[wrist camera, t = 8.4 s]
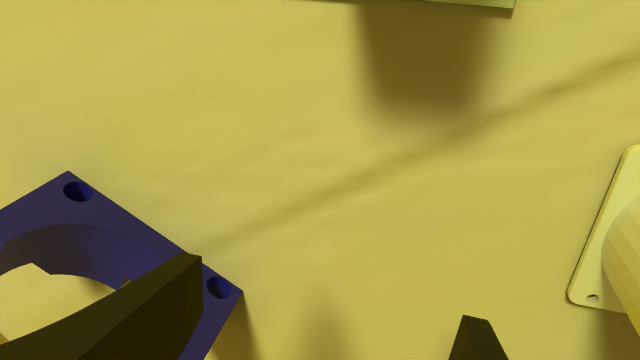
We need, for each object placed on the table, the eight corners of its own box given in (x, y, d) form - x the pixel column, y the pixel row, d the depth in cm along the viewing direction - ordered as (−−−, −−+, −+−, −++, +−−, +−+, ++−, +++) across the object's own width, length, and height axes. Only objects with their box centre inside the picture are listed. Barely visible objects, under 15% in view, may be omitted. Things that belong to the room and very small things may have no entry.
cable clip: (49, 219, 27) (-41, 281, 22) (70, 169, 25) (-26, 224, 20) (211, 328, 28) (160, 412, 23) (244, 288, 26) (197, 371, 21)
